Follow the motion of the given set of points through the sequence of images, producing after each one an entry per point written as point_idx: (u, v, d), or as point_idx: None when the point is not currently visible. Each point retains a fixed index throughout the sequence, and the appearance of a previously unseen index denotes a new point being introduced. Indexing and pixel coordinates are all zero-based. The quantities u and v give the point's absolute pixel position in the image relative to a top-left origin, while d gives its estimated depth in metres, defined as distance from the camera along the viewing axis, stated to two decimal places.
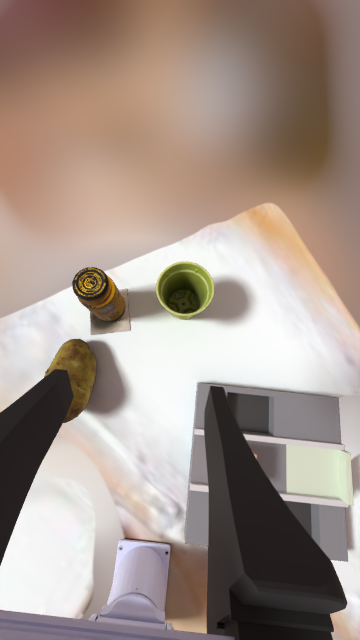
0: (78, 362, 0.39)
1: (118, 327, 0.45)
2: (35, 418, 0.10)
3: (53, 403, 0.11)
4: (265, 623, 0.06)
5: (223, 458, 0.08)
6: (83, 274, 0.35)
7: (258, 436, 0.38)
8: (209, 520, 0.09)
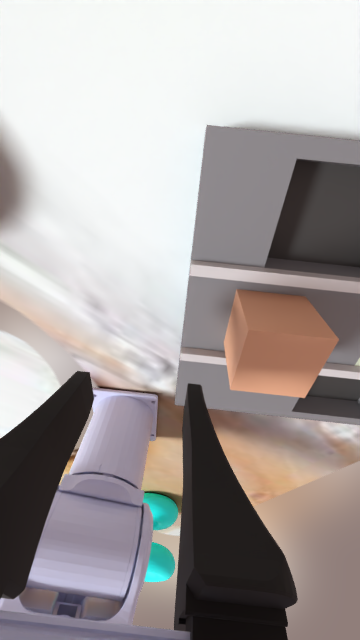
0: None
1: None
2: (62, 421, 0.10)
3: (77, 406, 0.11)
4: (219, 618, 0.06)
5: (191, 454, 0.08)
6: None
7: (344, 281, 0.16)
8: (181, 517, 0.09)
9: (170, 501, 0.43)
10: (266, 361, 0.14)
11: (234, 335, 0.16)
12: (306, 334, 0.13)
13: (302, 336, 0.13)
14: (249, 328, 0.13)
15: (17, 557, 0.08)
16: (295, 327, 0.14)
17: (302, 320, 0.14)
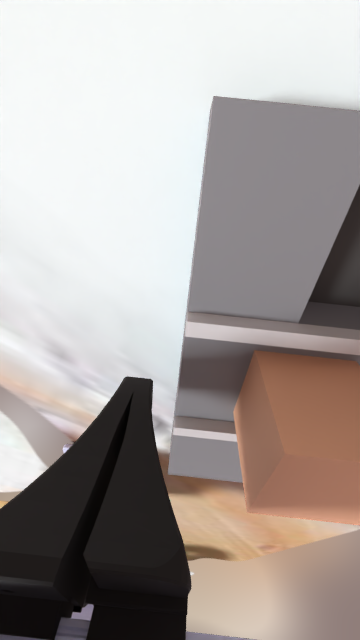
0: None
1: None
2: (121, 428, 0.10)
3: None
4: (119, 606, 0.06)
5: (122, 447, 0.08)
6: None
7: None
8: None
9: None
10: (310, 488, 0.09)
11: (252, 425, 0.11)
12: None
13: None
14: (285, 449, 0.08)
15: None
16: None
17: None
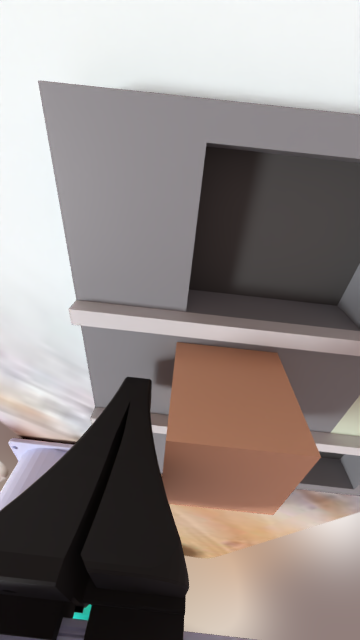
0: None
1: None
2: (123, 428, 0.10)
3: None
4: (116, 606, 0.06)
5: (120, 447, 0.08)
6: None
7: (305, 335, 0.10)
8: None
9: None
10: (206, 476, 0.09)
11: None
12: (264, 447, 0.08)
13: (259, 451, 0.08)
14: (168, 437, 0.08)
15: None
16: (250, 427, 0.08)
17: (264, 408, 0.09)
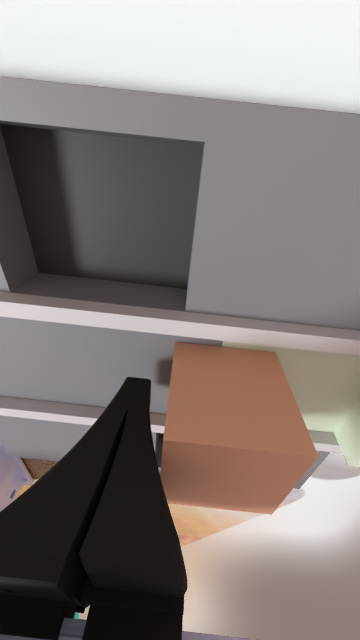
0: None
1: None
2: (123, 428, 0.10)
3: None
4: (115, 606, 0.06)
5: (119, 446, 0.08)
6: None
7: (120, 315, 0.10)
8: None
9: None
10: (204, 476, 0.09)
11: None
12: (262, 447, 0.08)
13: (256, 451, 0.08)
14: (165, 436, 0.08)
15: None
16: (248, 426, 0.08)
17: (262, 408, 0.09)
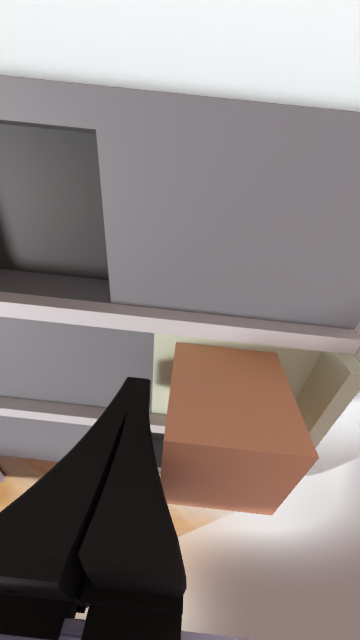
0: None
1: None
2: (124, 428, 0.10)
3: None
4: (114, 606, 0.06)
5: (118, 446, 0.08)
6: None
7: (42, 306, 0.10)
8: None
9: None
10: (204, 476, 0.09)
11: None
12: (262, 447, 0.08)
13: (256, 452, 0.08)
14: (165, 436, 0.08)
15: None
16: (248, 427, 0.08)
17: (262, 409, 0.09)
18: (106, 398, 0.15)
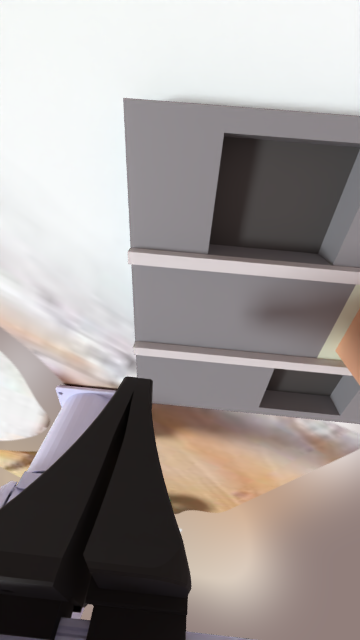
0: None
1: None
2: (121, 428, 0.10)
3: None
4: (118, 606, 0.06)
5: (122, 447, 0.08)
6: None
7: (291, 267, 0.15)
8: None
9: None
10: None
11: None
12: None
13: None
14: None
15: None
16: None
17: None
18: (286, 346, 0.19)
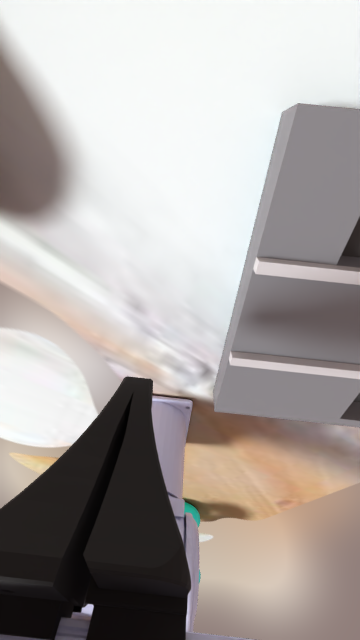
0: None
1: None
2: (121, 428, 0.10)
3: None
4: (119, 606, 0.06)
5: (122, 447, 0.08)
6: None
7: None
8: None
9: (193, 508, 0.42)
10: None
11: None
12: None
13: None
14: None
15: None
16: None
17: None
18: None
